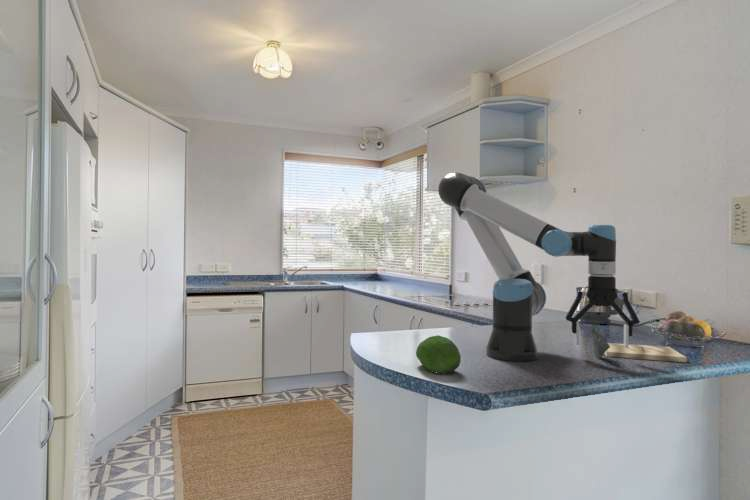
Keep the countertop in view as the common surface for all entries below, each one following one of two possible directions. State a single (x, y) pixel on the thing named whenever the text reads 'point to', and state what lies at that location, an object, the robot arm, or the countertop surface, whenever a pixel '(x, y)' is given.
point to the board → (644, 352)
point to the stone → (599, 343)
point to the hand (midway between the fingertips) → (601, 345)
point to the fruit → (438, 354)
